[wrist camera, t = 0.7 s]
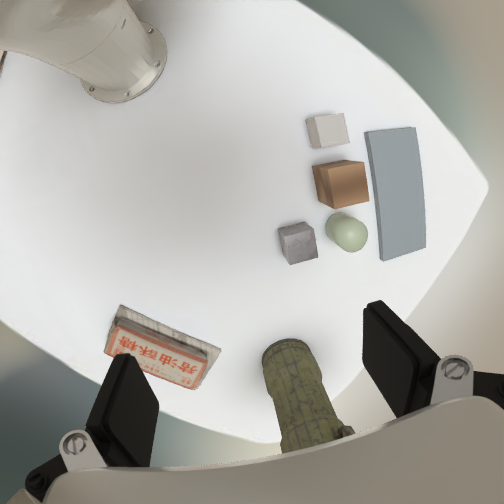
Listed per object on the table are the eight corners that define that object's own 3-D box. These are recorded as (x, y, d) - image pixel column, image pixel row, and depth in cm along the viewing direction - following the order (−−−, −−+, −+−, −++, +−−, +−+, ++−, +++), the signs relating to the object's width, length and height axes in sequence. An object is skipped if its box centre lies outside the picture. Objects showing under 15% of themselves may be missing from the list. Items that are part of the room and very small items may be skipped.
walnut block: (311, 166, 38) (327, 169, 33) (344, 160, 39) (363, 162, 33) (318, 201, 40) (334, 209, 35) (350, 193, 40) (369, 200, 35)
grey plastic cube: (305, 120, 36) (314, 116, 33) (332, 116, 36) (343, 113, 33) (311, 148, 38) (321, 147, 34) (337, 143, 38) (349, 143, 34)
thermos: (249, 376, 49) (284, 565, 16) (278, 325, 46) (352, 538, 13) (292, 385, 51) (347, 553, 18) (323, 338, 48) (416, 517, 15)
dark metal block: (277, 228, 41) (284, 236, 37) (304, 221, 41) (313, 229, 37) (283, 254, 42) (289, 265, 39) (309, 247, 42) (318, 257, 39)
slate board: (364, 132, 37) (368, 132, 36) (411, 127, 38) (415, 127, 37) (380, 258, 44) (383, 261, 43) (421, 245, 45) (425, 247, 43)
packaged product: (97, 362, 40) (112, 317, 38) (105, 344, 45) (121, 301, 42) (197, 402, 45) (223, 365, 42) (197, 383, 49) (222, 346, 47)
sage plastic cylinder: (323, 216, 41) (336, 224, 36) (350, 209, 41) (366, 217, 36) (327, 244, 42) (340, 256, 38) (354, 237, 43) (369, 247, 38)
